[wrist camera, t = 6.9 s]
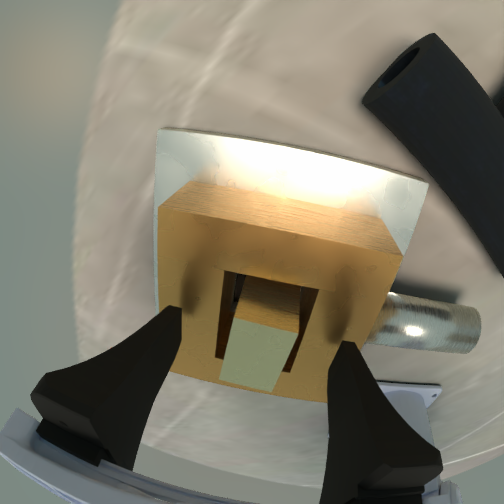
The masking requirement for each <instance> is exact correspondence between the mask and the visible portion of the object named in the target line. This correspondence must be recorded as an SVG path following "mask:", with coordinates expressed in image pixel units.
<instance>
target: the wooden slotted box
mask: <svg viewBox="0 0 504 504" xmlns="http://www.w3.org/2000/svg"><path fill="white" fill-rule="evenodd" d="M428 186H429V183H427V182H426V181H425V180H423V179H421V178H418V177H415V176H412V175H409V174H405V173H402V172H399V171H395V170H392V169H389V168H385V167H381V166H378V165H374V164H371V163H367V162H363V161H359V160H355V159H351V158H347V157H343V156H339V155H335V154H331V153H326V152H322V151H318V150H313V149H308V148H303V147H299V146H294V145H289V144H283V143H278V142H272V141H267V140H261V139H255V138H249V137H242V136H236V135H229V134H222V133H214V132H206V131H198V130H189V129H179V128H168V127H165V128H161V129H158V134H157V147H156V164H155V186H154V286H155V308H156V315H157V314H159V313H160V312H161V311H162V310H163V309H164V308H165V307H167V306H168V305H172V306H176V307H180V308H182V341H181V344H180V347H179V350H178V352H177V355H176V358H175V360H174V362H173V364H172V366H171V368H170V370H169V371H171V372H174V373H178V374H181V375H185V376H189V377H193V378H197V379H200V380H204V381H208V382H213V383H217V384H221V385H226V386H230V387H235V388H239V389H244V390H249V391H254V392H259V393H265V394H270V395H276V396H282V397H288V398H295V399H301V400H308V401H316V402H324V403H328V402H327V379H328V369H329V367H330V365H331V363H332V361H333V359H334V357H335V355H336V352H337V350H338V348H339V346H340V344H341V342H342V340H344V341H350V342H355V343H356V345H357V347H358V349H359V351H361V349H362V347H363V345H364V344H365V343H369V344H376V345H384V346H392V347H400V348H408V349H417V350H427V351H437V352H448V353H460V354H466V353H469V352H470V351H471V350H472V349H473V348H474V347H475V346H476V344H477V342H478V340H479V337H480V333H481V318H480V315H479V312H478V311H477V310H476V309H475V308H473V307H469V306H463V305H457V304H452V303H446V302H441V301H435V300H430V299H425V298H419V297H414V296H408V295H403V294H398V293H392V292H389V291H390V289H391V287H392V284H393V282H394V280H395V277H396V275H397V273H398V270H399V268H400V265H401V263H402V260H403V258H404V255H405V253H406V250H407V248H408V245H409V242H410V240H411V237H412V234H413V232H414V229H415V226H416V223H417V220H418V217H419V214H420V211H421V208H422V205H423V202H424V199H425V196H426V193H427V190H428ZM237 273H240V274H245V275H250V276H255V277H260V278H265V279H270V280H275V281H280V282H285V283H290V284H295V285H300V286H302V289H301V292H300V308H299V333H298V336H297V338H296V340H295V343H294V345H293V347H292V349H291V352H290V354H289V356H288V358H287V360H286V363H285V365H284V367H283V369H282V371H281V373H280V376H279V378H278V380H277V382H276V384H275V386H274V388H273V390H272V392H268V391H264V390H259V389H255V388H251V387H247V386H243V385H239V384H235V383H231V382H227V381H223V380H220V379H219V377H220V373H221V368H222V364H223V360H224V356H225V352H226V348H227V344H228V340H229V335H230V331H231V327H232V323H233V319H234V315H235V312H236V309H237V305H238V303H237V302H233V298H234V292H235V285H236V278H237Z"/></svg>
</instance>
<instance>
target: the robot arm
mask: <svg viewBox="0 0 504 504" xmlns="http://www.w3.org/2000/svg"><path fill="white" fill-rule="evenodd" d="M181 341H182V308H180V307H176V306H172V305H168V306H167V307H165V308H164V309H163V310H162V311H161V312H160V313H159V314H157V315H156V316H155V317H154V318H153V319H151V320H150V321H149V322H148V323H147V324H145V325H144V326H143V327H141V328H140V329H139V330H138V331H136V332H135V333H134V334H132V335H131V336H129V337H128V338H126V339H125V340H124V341H122V342H121V343H119V344H117V345H116V346H114V347H112V348H111V349H109V350H107V351H105V352H103V353H101V354H99V355H97V356H95V357H93V358H91V359H89V360H87V361H84V362H82V363H79V364H76V365H73V366H71V367H68V368H64V369H60V370H56V371H52V372H49V373H46V374H45V375H44V376H43V377H42V378H41V380H40V381H39V383H38V384H37V385H36V387H35V388H34V390H33V391H32V393H31V394H30V396H31V400H32V402H33V404H34V405H35V407H36V408H37V410H38V411H39V413H40V414H41V416H42V417H43V419H42V421H41V423H39V422H38V421H37V420H36V419H35V418H33V417H32V416H30V415H28V414H27V413H25V412H24V411H22V410H21V409H19V408H16V409H15V410H14V412H13V413H12V415H11V416H10V418H9V419H8V421H7V422H6V424H5V425H4V427H3V428H2V430H1V432H0V455H1V456H2V457H3V458H5V459H6V460H7V461H8V462H9V463H10V464H11V465H13V466H14V467H15V468H16V469H17V470H19V471H20V472H22V473H23V474H24V475H26V476H27V477H29V478H31V479H32V480H33V481H35V482H37V483H38V484H39V485H41V486H43V487H44V488H46V489H47V490H49V491H51V492H52V493H54V494H56V495H57V496H59V497H61V498H63V499H64V500H66V501H68V502H70V503H71V504H257V503H251V502H245V501H239V500H233V499H228V498H223V497H217V496H213V495H209V494H205V493H201V492H196V491H192V490H189V489H185V488H181V487H178V486H174V485H171V484H168V483H164V482H161V481H158V480H155V479H152V478H149V477H146V476H143V475H141V474H138V473H135V472H132V470H133V466H134V462H135V459H136V455H137V451H138V448H139V444H140V441H141V438H142V434H143V431H144V428H145V425H146V422H147V419H148V416H149V414H150V411H151V408H152V405H153V403H154V400H155V398H156V396H157V394H158V392H159V390H160V388H161V386H162V384H163V382H164V380H165V378H166V376H167V374H168V372H169V370H170V368H171V366H172V364H173V362H174V360H175V358H176V355H177V352H178V350H179V347H180V344H181ZM441 392H442V387H441V386H434V385H413V384H397V383H385V382H376V380H375V378H374V377H373V375H372V373H371V371H370V370H369V368H368V366H367V364H366V362H365V360H364V358H363V357H362V355H361V353H360V351H359V349H358V347H357V345H356V343H355V342H350V341H344V340H342V342H341V344H340V346H339V348H338V350H337V352H336V355H335V357H334V359H333V361H332V363H331V365H330V367H329V369H328V379H327V402H328V421H329V433H328V438H329V442H328V453H327V462H326V470H325V476H324V482H323V488H322V493H321V498H320V503H319V504H463V502H462V497H461V493H460V490H459V487H458V485H457V484H455V483H452V482H451V481H450V480H448V481H446V482H442V481H441V480H440V473H441V472H442V470H443V464H442V459H441V454H440V451H439V450H438V449H437V448H435V446H434V441H433V436H432V432H431V427H430V423H429V418H428V414H427V410H426V409H427V408H428V407H429V406H430V405H431V404H432V403H433V401H434V400H435V399H436V398H437V397H438V396H439V394H440V393H441ZM155 498H158V499H160V500H157V499H155ZM161 500H164V501H161ZM165 501H167V502H165ZM169 502H170V503H169Z"/></svg>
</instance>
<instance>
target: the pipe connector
mask: <svg viewBox="0 0 504 504" xmlns="http://www.w3.org/2000/svg"><path fill="white" fill-rule="evenodd" d="M362 104H363V105H365V106H366V107H367V108H368V109H369V110H370V111H371V112H372V113H373V114H374V115H375V116H376V117H377V118H378V119H379V120H380V121H382V122H383V123H384V124H385V125H386V126H387V127H388V128H389V129H390V130H391V131H392V132H393V133H394V134H395V136H396V137H397V138H398V139H399V140H400V141H401V142H402V143H403V144H404V145H405V146H406V147H407V148H408V149H409V150H410V151H411V152H412V154H413V155H414V156H415V157H416V158H417V159H418V160H419V161H420V162H421V164H422V165H423V166H424V167H425V168H426V169H427V171H428V172H429V173H430V174H431V175H432V176H433V178H434V179H435V180H436V181H437V182H438V184H439V185H440V186H441V187H442V189H443V190H444V191H445V192H446V194H447V195H448V196H449V197H450V199H451V200H452V201H453V203H454V204H455V205H456V207H457V208H458V209H459V211H460V212H461V213H462V215H463V216H464V217H465V219H466V220H467V222H468V223H469V224H470V226H471V227H472V229H473V230H474V232H475V233H476V235H477V236H478V238H479V239H480V241H481V242H482V244H483V245H484V247H485V248H486V250H487V251H488V253H489V254H490V256H491V258H492V259H493V261H494V263H495V264H496V266H497V268H498V269H499V271H500V273H501V274H502V276H503V278H504V97H503V99H502V100H501V101H500V102H499V103H498V105H497V106H495V105H494V103H493V102H492V101H491V99H490V98H489V96H488V95H487V94H486V92H485V91H484V90H483V88H482V87H481V86H480V84H479V83H478V82H477V80H476V79H475V78H474V77H473V75H472V74H471V73H470V72H469V70H468V69H467V68H466V67H465V66H464V64H463V63H462V62H461V61H460V60H459V59H458V57H457V56H456V55H455V54H454V53H453V52H452V51H451V49H450V48H449V47H448V46H447V45H446V44H445V43H444V42H443V41H442V40H441V39H440V38H439V37H438V36H437V35H436V34H435V33H431V34H428V35H426V36H424V37H423V38H421V39H420V40H418V41H417V42H415V43H414V44H413V45H412V46H410V47H409V48H408V49H407V50H405V51H404V52H403V53H402V54H401V55H400V56H399V57H398V58H397V59H396V60H395V61H394V62H393V63H392V64H391V65H390V66H389V68H388V69H387V70H386V71H385V72H384V73H383V74H382V75H381V76H380V77H379V78H378V80H377V81H376V82H375V83H374V84H373V85H372V86H371V87H370V89H369V90H368V92H367V93H366V95H365V97H364V99H363V103H362Z"/></svg>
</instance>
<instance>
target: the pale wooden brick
mask: <svg viewBox="0 0 504 504" xmlns="http://www.w3.org/2000/svg"><path fill="white" fill-rule="evenodd" d="M299 308H300V285H295V284H290V283H285V282H280V281H275V280H270V279H265V278H260V277H255V276H250V275H247V276H246V279H245V282H244V286H243V289H242V292H241V296H240V299H239V302H238V305H237V309H236V312H235V315H234V319H233V323H232V327H231V331H230V335H229V340H228V344H227V348H226V352H225V356H224V360H223V364H222V368H221V373H220V377H219V379H220V380H223V381H227V382H231V383H235V384H239V385H243V386H247V387H251V388H255V389H259V390H264V391H268V392H272V390H273V388H274V386H275V384H276V382H277V380H278V378H279V376H280V373H281V371H282V369H283V367H284V365H285V363H286V360H287V358H288V356H289V354H290V352H291V349H292V347H293V345H294V343H295V340H296V338H297V336H298V333H299Z"/></svg>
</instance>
